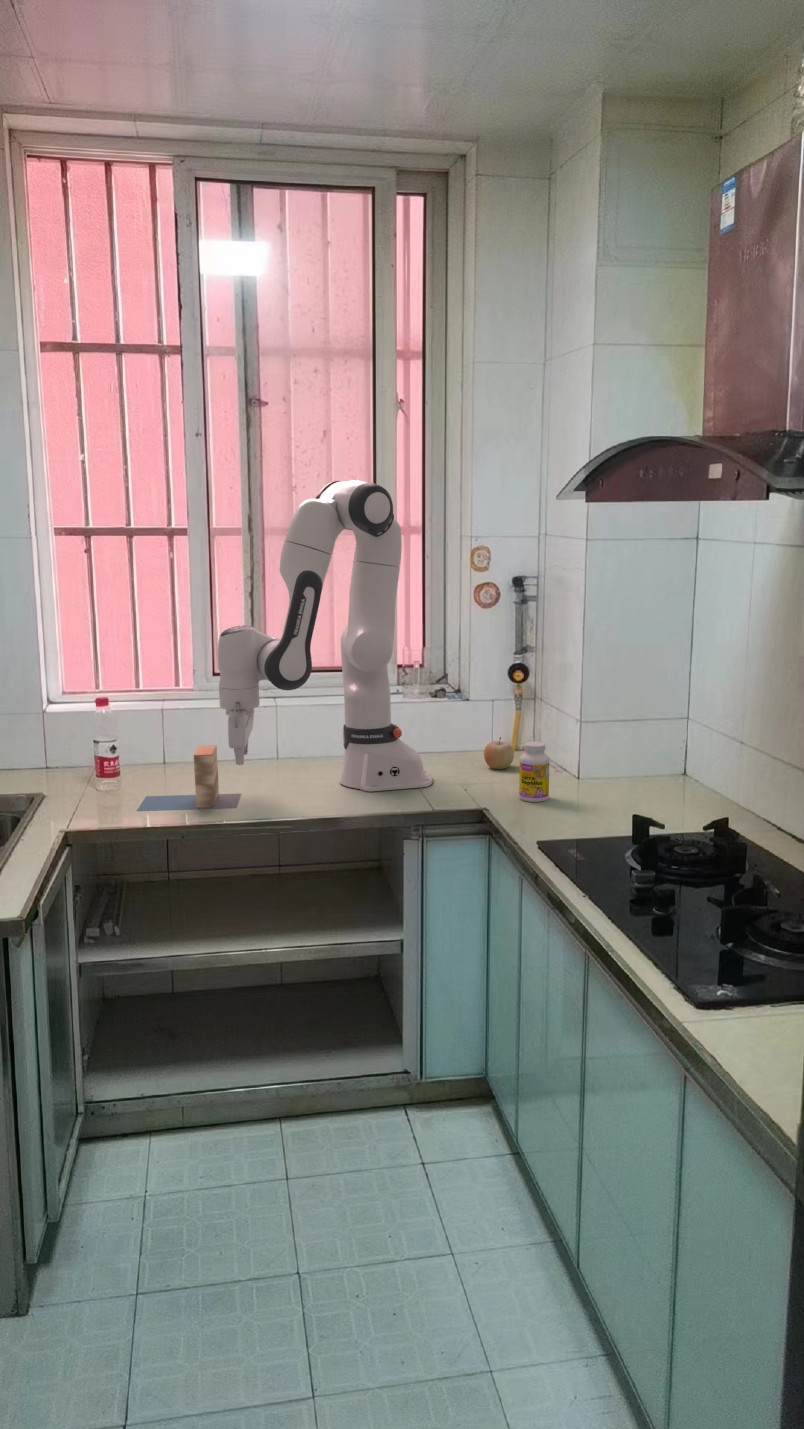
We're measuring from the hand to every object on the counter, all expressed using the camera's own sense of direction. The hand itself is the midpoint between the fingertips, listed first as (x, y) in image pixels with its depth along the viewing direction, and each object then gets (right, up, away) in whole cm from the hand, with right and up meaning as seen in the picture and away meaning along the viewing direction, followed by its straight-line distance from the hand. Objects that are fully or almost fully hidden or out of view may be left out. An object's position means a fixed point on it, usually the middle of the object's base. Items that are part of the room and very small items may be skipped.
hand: (242, 759), depth 241 cm
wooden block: (-8, -10, +2) cm, 13 cm away
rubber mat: (-11, -10, +2) cm, 15 cm away
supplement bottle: (+66, -9, +2) cm, 67 cm away
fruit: (+61, -4, +30) cm, 68 cm away
